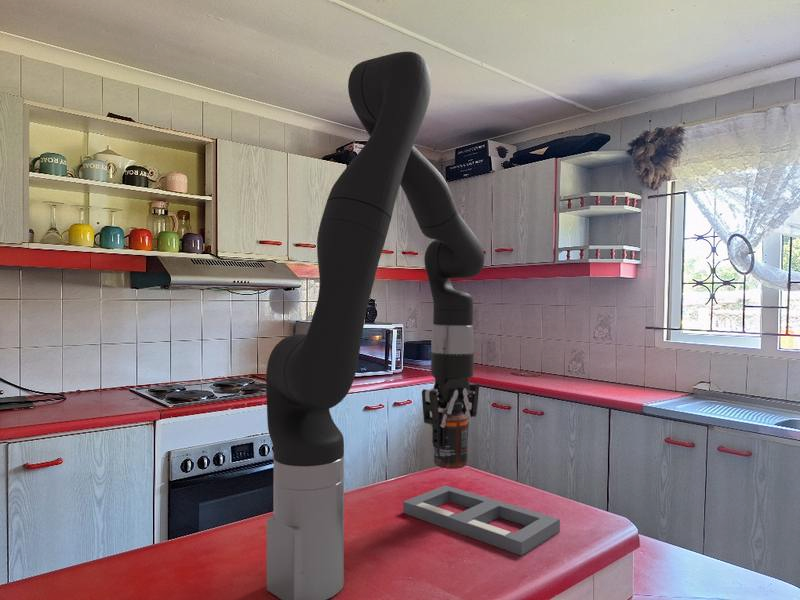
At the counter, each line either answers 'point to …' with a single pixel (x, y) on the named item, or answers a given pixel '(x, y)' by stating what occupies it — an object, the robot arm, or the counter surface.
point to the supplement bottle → (453, 440)
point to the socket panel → (483, 518)
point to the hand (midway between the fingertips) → (450, 444)
